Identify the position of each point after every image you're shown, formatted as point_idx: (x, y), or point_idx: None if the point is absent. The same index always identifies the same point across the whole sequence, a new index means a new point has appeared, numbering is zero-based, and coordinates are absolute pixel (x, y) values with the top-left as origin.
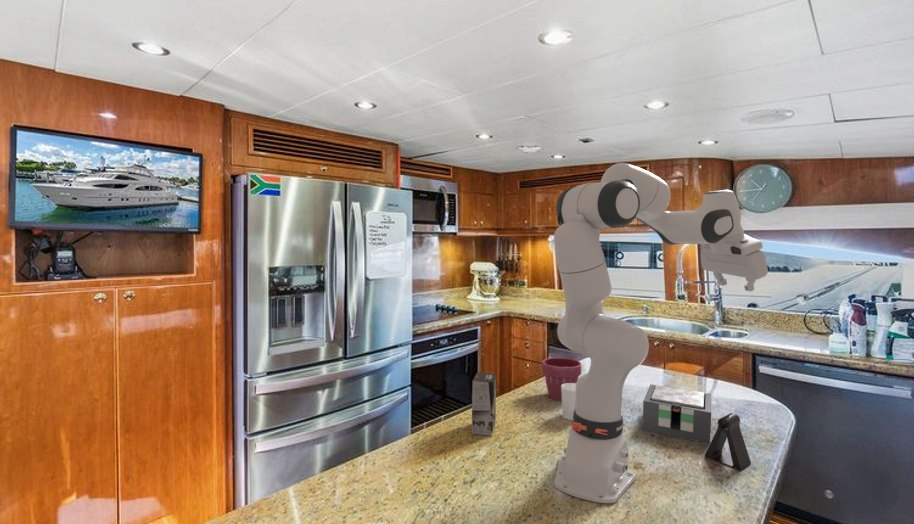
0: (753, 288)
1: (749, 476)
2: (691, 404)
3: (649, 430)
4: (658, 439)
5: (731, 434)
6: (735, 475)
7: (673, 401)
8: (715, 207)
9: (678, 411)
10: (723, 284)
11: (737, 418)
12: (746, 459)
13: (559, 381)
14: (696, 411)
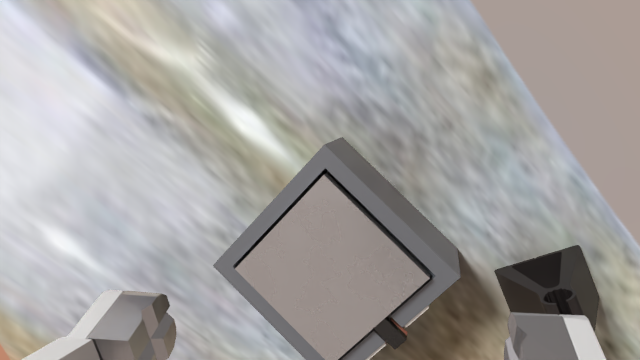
0: (589, 334)
1: (624, 298)
2: (405, 298)
3: None
4: (404, 347)
5: None
6: (609, 324)
7: (371, 328)
8: None
9: (406, 333)
10: (168, 338)
11: (579, 307)
12: (584, 266)
13: None
14: (432, 299)
